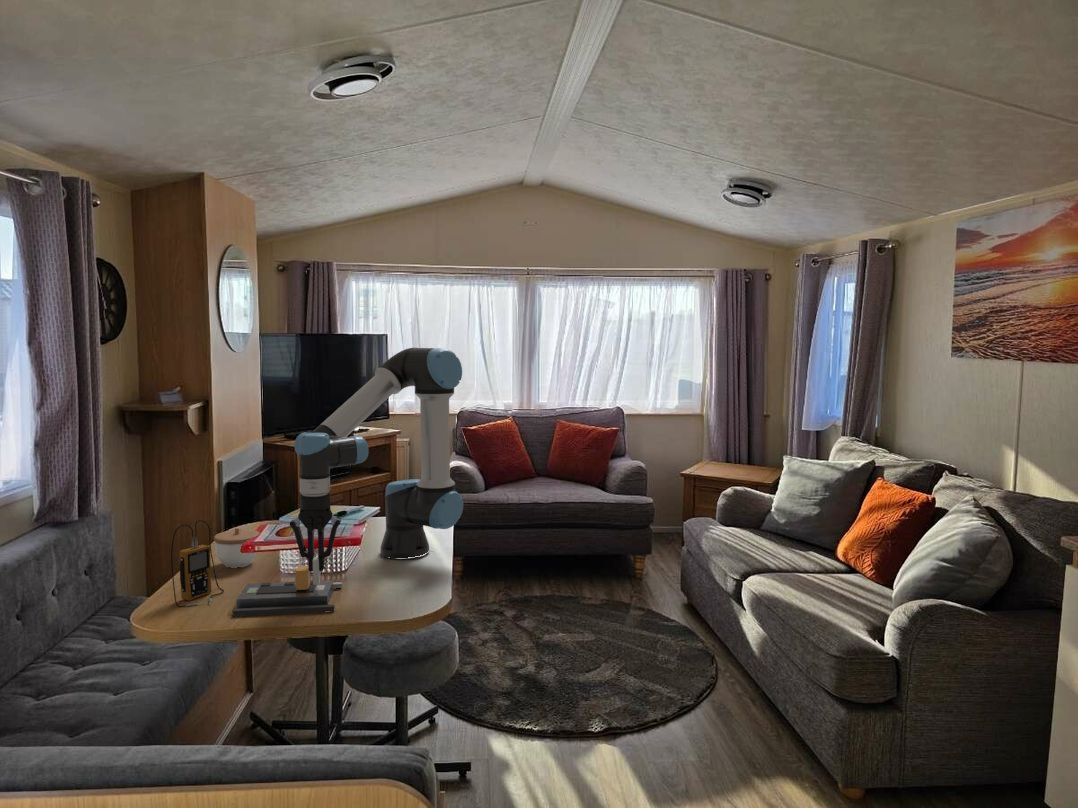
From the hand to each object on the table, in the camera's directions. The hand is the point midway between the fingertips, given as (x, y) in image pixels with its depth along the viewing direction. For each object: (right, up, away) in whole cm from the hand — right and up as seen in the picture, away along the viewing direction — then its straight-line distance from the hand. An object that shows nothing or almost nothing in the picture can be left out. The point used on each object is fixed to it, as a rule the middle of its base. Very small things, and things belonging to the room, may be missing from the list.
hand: (316, 582), depth 200 cm
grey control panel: (-8, -5, -1) cm, 9 cm away
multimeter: (-29, -5, 0) cm, 29 cm away
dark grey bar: (-5, -5, -9) cm, 12 cm away
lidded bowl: (-32, -2, +30) cm, 44 cm away
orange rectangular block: (-3, -1, 0) cm, 4 cm away
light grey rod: (-8, -4, +8) cm, 12 cm away
